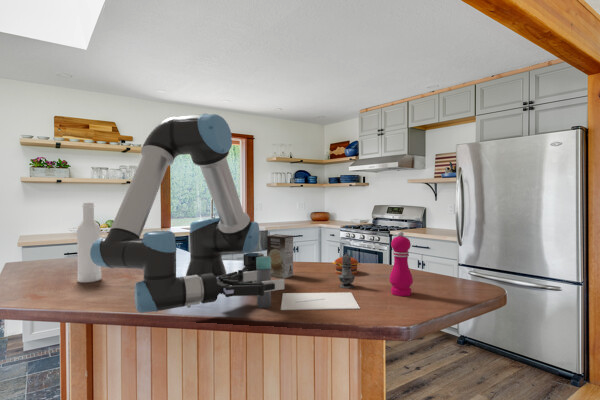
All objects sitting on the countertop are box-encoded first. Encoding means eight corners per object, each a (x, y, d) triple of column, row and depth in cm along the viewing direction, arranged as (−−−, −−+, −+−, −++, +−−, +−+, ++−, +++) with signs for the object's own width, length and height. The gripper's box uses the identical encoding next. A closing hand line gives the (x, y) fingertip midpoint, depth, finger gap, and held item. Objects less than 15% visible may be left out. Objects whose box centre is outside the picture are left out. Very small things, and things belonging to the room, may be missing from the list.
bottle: (79, 283, 131) (78, 202, 131) (75, 280, 137) (74, 202, 137) (103, 280, 136) (102, 202, 136) (98, 276, 142) (97, 201, 142)
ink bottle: (259, 294, 115) (258, 257, 114) (235, 292, 118) (234, 256, 118) (271, 287, 124) (271, 252, 124) (249, 285, 127) (248, 251, 127)
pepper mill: (400, 298, 109) (400, 233, 109) (384, 292, 116) (384, 231, 116) (417, 294, 113) (417, 231, 113) (401, 289, 119) (401, 229, 119)
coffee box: (266, 275, 142) (265, 235, 141) (275, 272, 147) (275, 234, 147) (285, 278, 137) (284, 236, 136) (294, 275, 142) (293, 235, 142)
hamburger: (330, 272, 148) (330, 256, 148) (349, 269, 152) (349, 254, 152) (343, 276, 140) (342, 259, 140) (363, 274, 144) (362, 257, 144)
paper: (280, 310, 99) (280, 308, 99) (282, 294, 115) (282, 293, 115) (359, 309, 99) (359, 307, 99) (350, 293, 115) (350, 292, 115)
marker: (255, 308, 101) (255, 258, 100) (257, 303, 105) (257, 256, 105) (270, 308, 101) (270, 258, 101) (271, 303, 105) (271, 256, 105)
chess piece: (355, 288, 121) (354, 253, 120) (337, 288, 122) (337, 253, 122) (355, 284, 126) (355, 250, 126) (339, 283, 128) (338, 250, 127)
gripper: (188, 292, 104) (255, 282, 115) (214, 317, 83) (294, 302, 93) (188, 266, 104) (255, 259, 115) (214, 284, 82) (293, 273, 93)
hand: (272, 278), depth 104 cm, fingers open, 13 cm apart
